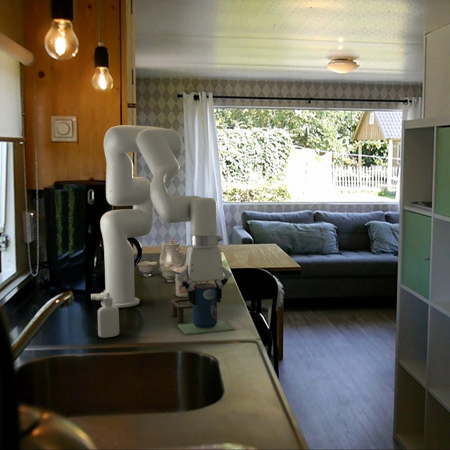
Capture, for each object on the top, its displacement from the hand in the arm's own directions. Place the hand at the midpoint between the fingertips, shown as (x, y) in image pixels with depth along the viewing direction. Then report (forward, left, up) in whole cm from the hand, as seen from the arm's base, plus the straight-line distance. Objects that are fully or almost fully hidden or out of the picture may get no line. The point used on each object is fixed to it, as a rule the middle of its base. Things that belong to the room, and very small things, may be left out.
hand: (204, 302), depth 186 cm
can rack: (-1, +13, -8) cm, 15 cm away
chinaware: (+7, +82, -8) cm, 83 cm away
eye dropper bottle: (-27, +2, -8) cm, 28 cm away
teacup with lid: (+8, +45, -8) cm, 46 cm away
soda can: (0, 0, -7) cm, 7 cm away
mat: (0, 0, -8) cm, 8 cm away
